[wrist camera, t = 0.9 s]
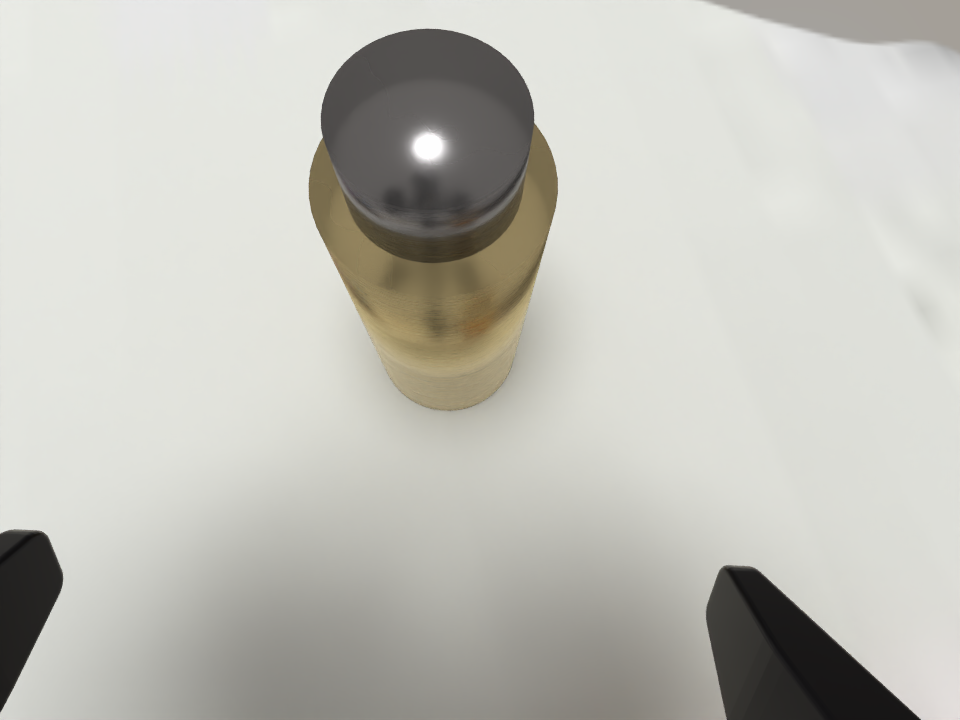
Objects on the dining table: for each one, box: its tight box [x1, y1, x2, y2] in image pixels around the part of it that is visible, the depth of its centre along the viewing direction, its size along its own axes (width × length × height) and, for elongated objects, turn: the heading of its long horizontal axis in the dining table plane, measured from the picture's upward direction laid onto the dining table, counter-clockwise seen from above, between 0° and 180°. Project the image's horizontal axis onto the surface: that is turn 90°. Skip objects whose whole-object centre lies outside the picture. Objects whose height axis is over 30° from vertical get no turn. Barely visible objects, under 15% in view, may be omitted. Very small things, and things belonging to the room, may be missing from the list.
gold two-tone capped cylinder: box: [309, 29, 558, 411], centre depth 16 cm, size 5×5×13 cm
